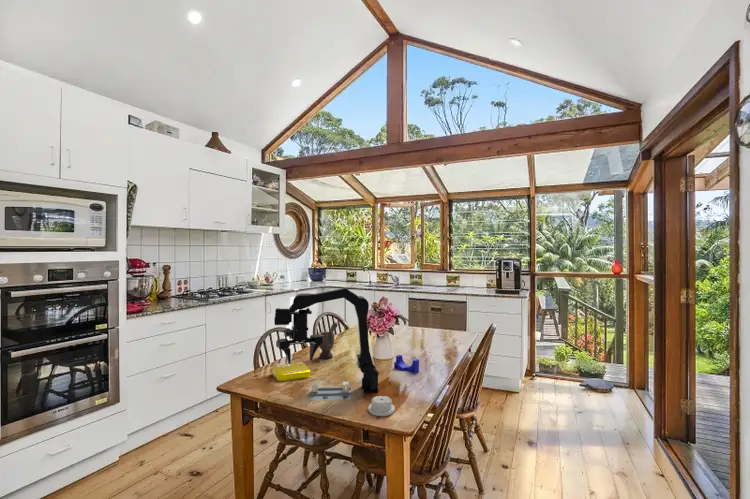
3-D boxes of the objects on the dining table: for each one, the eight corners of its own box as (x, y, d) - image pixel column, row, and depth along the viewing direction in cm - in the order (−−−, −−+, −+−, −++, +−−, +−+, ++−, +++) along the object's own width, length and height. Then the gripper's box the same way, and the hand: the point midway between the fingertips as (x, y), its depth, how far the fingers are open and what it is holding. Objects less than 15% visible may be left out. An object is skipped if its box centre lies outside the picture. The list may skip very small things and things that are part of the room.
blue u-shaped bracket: (394, 368, 189) (394, 356, 189) (399, 366, 193) (399, 354, 193) (413, 374, 181) (413, 361, 181) (418, 371, 185) (419, 359, 184)
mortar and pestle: (341, 356, 209) (341, 320, 208) (336, 360, 200) (336, 323, 200) (321, 354, 212) (322, 318, 211) (315, 359, 203) (316, 322, 203)
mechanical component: (400, 410, 142) (379, 403, 149) (400, 398, 142) (379, 391, 149) (383, 419, 135) (362, 411, 141) (383, 407, 135) (362, 400, 141)
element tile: (278, 385, 167) (278, 374, 167) (272, 374, 180) (272, 364, 180) (311, 380, 173) (311, 369, 173) (303, 370, 187) (303, 360, 187)
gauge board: (350, 390, 161) (350, 379, 161) (350, 401, 149) (350, 390, 149) (312, 390, 160) (312, 380, 160) (309, 402, 148) (309, 391, 148)
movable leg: (318, 390, 157) (318, 382, 157) (317, 398, 149) (317, 389, 149) (312, 390, 157) (312, 382, 157) (310, 398, 149) (310, 389, 149)
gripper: (314, 318, 168) (313, 353, 168) (272, 323, 158) (272, 360, 159) (324, 323, 159) (323, 360, 159) (280, 328, 149) (280, 367, 149)
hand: (300, 362), depth 157 cm, fingers open, 9 cm apart
